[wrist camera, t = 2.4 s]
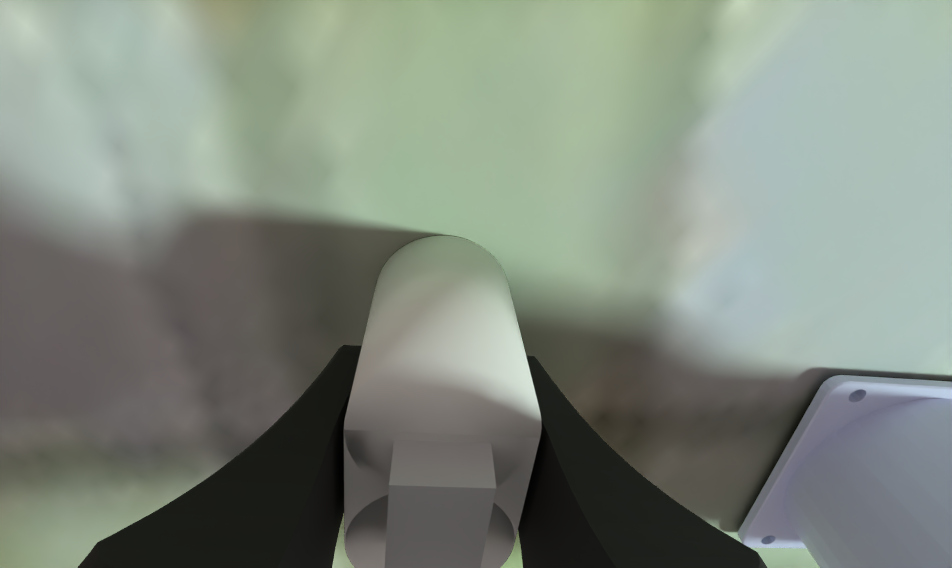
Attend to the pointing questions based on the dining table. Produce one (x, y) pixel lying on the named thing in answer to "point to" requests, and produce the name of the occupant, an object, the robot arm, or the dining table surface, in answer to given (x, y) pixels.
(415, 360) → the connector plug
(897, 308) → the dining table surface
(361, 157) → the dining table surface
